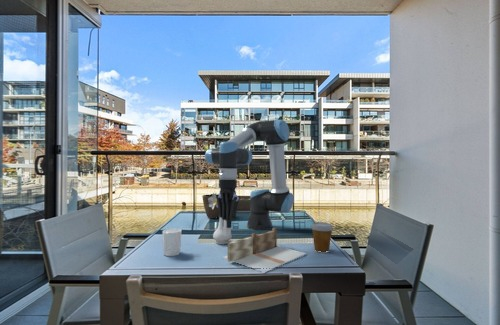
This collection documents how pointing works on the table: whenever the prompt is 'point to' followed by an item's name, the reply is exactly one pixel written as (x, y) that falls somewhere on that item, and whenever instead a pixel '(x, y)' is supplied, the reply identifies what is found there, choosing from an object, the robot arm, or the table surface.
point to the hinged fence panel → (240, 248)
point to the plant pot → (208, 210)
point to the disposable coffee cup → (322, 236)
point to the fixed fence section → (264, 241)
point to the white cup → (171, 241)
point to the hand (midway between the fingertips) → (226, 235)
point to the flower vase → (219, 232)
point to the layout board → (269, 258)
